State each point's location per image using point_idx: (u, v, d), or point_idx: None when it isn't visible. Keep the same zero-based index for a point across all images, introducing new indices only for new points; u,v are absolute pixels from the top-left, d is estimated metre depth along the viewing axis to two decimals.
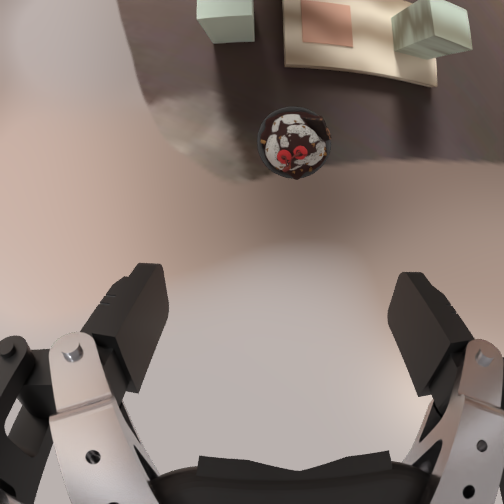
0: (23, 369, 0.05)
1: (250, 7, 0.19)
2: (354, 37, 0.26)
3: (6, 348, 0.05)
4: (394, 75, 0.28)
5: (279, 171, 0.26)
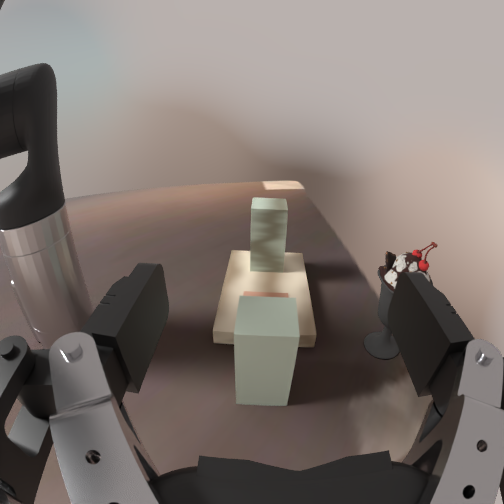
0: (23, 369, 0.05)
1: (285, 298, 0.26)
2: (277, 292, 0.40)
3: (6, 348, 0.05)
4: (305, 273, 0.45)
5: None
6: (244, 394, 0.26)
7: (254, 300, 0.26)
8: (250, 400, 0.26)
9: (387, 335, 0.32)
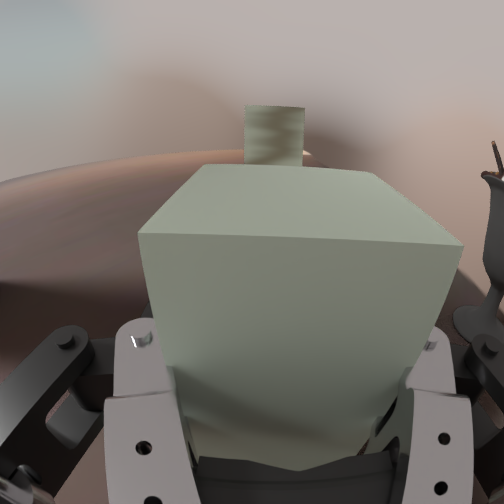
0: (84, 359, 0.05)
1: (345, 171, 0.08)
2: None
3: (63, 338, 0.05)
4: None
5: None
6: None
7: (249, 168, 0.08)
8: None
9: (495, 305, 0.14)
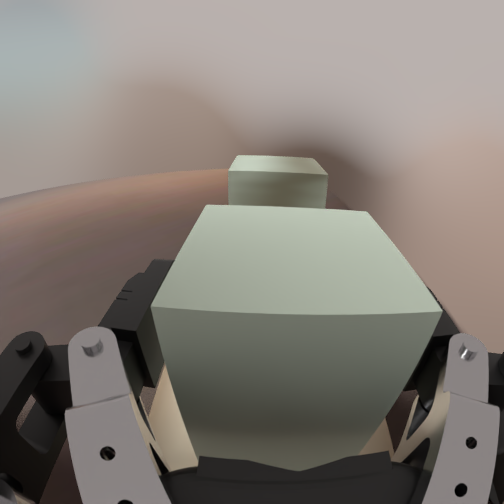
0: (40, 365, 0.05)
1: (341, 211, 0.09)
2: None
3: (22, 344, 0.05)
4: None
5: None
6: None
7: (249, 212, 0.08)
8: None
9: None
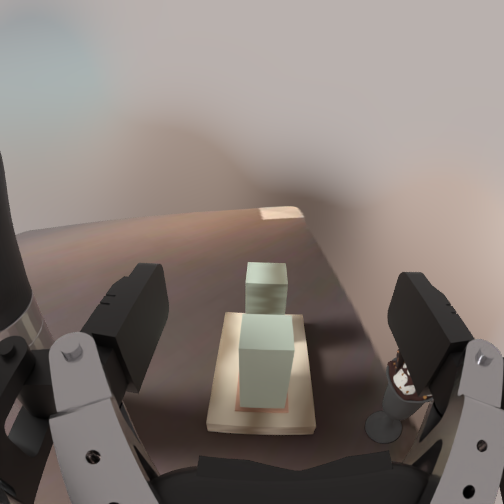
0: (23, 369, 0.05)
1: (283, 316, 0.30)
2: None
3: (6, 348, 0.05)
4: (305, 344, 0.40)
5: None
6: (247, 399, 0.29)
7: (255, 317, 0.29)
8: (252, 403, 0.30)
9: (390, 421, 0.27)
